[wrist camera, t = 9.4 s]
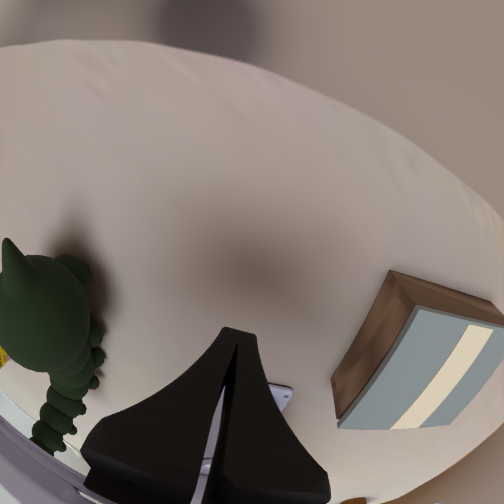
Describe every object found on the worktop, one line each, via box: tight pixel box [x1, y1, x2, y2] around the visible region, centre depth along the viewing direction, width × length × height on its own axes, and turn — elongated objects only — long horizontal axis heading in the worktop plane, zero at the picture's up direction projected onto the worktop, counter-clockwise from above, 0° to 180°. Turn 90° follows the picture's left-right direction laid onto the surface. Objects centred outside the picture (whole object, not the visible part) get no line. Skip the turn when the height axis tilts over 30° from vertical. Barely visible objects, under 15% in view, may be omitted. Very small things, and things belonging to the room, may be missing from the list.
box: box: [331, 270, 504, 419], centre depth 19 cm, size 12×14×5 cm
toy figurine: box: [0, 238, 105, 457], centre depth 16 cm, size 9×19×25 cm
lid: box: [337, 305, 504, 430], centre depth 16 cm, size 12×14×1 cm
